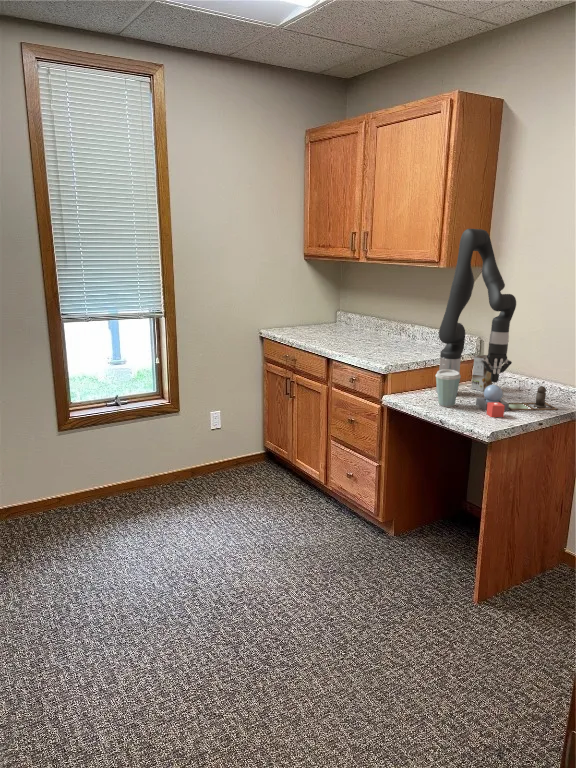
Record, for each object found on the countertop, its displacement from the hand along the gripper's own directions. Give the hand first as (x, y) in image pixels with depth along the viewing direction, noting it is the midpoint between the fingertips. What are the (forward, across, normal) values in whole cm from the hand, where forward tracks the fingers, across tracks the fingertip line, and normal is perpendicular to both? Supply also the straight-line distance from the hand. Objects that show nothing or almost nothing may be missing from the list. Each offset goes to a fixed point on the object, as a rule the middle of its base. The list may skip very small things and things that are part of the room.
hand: (494, 382), depth 240 cm
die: (+11, +4, +12) cm, 17 cm away
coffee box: (+12, -9, -32) cm, 35 cm away
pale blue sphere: (+10, 0, 0) cm, 10 cm away
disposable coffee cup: (+12, +19, -4) cm, 22 cm away
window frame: (+11, -17, 0) cm, 20 cm away
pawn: (+11, -22, 0) cm, 24 cm away
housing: (+11, 0, 0) cm, 11 cm away
